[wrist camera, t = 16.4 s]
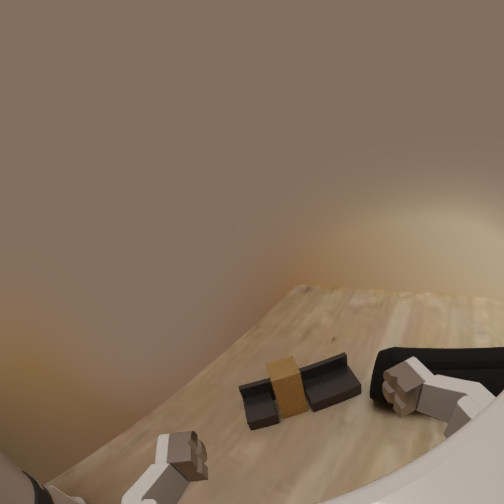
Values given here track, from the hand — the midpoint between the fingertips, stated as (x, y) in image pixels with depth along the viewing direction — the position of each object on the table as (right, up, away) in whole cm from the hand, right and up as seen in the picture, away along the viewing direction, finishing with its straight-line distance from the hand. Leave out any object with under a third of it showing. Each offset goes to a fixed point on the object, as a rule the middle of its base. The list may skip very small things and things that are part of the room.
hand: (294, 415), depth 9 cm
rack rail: (+7, -20, +34) cm, 40 cm away
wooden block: (+5, -21, +33) cm, 39 cm away
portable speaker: (+30, -18, +23) cm, 42 cm away
